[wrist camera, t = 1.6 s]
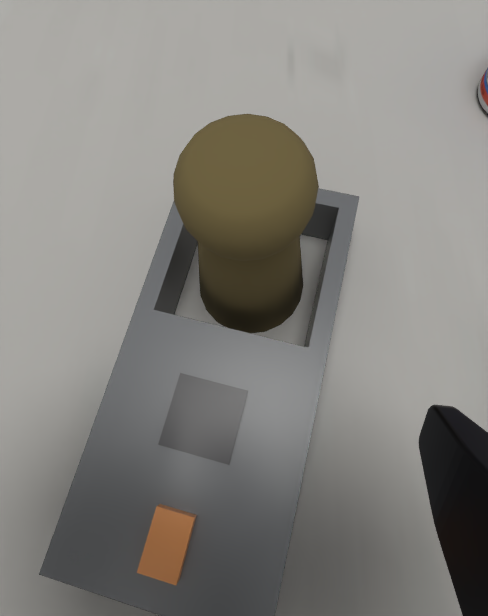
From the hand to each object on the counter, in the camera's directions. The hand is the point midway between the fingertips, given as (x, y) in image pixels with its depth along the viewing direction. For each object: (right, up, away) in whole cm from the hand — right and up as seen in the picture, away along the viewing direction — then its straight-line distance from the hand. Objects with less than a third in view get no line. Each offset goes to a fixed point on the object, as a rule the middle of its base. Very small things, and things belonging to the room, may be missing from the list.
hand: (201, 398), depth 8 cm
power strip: (0, -2, +14) cm, 14 cm away
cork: (+1, +3, +15) cm, 16 cm away
